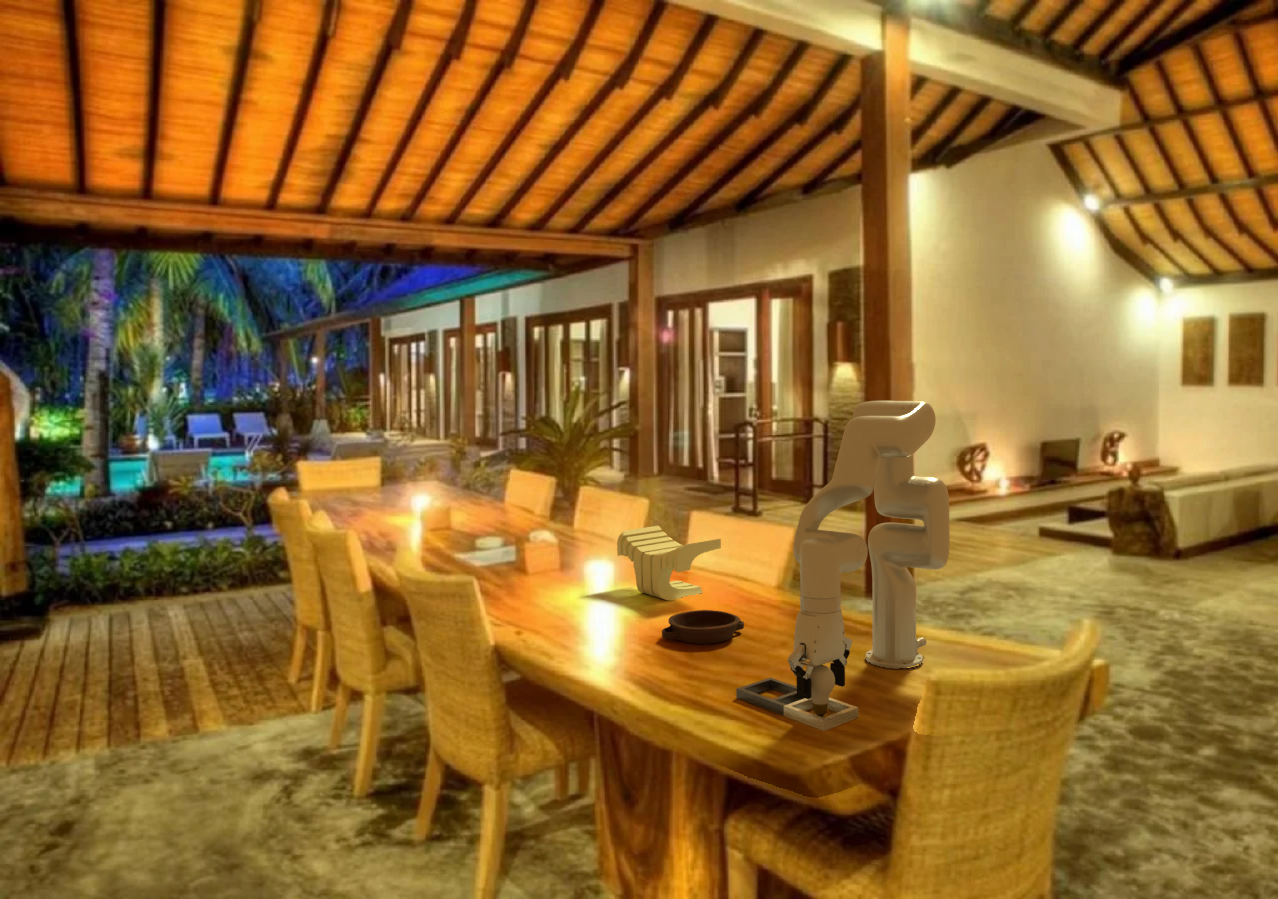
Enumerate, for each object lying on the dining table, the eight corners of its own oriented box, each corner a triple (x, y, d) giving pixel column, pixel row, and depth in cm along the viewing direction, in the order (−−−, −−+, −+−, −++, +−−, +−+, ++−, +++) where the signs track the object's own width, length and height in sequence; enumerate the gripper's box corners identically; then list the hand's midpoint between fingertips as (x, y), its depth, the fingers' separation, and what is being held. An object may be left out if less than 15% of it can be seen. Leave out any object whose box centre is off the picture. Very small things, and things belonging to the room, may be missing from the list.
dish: (759, 641, 227) (759, 622, 226) (677, 653, 219) (676, 632, 219) (729, 624, 243) (728, 605, 243) (651, 634, 236) (650, 614, 235)
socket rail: (770, 686, 194) (770, 677, 194) (858, 717, 176) (858, 707, 176) (736, 698, 188) (736, 688, 188) (823, 731, 170) (823, 720, 170)
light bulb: (831, 710, 180) (830, 660, 180) (839, 720, 174) (838, 668, 174) (802, 712, 180) (800, 661, 180) (808, 722, 174) (807, 669, 174)
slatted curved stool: (618, 588, 284) (616, 531, 282) (659, 581, 293) (658, 525, 291) (678, 608, 259) (677, 545, 258) (721, 599, 269) (720, 538, 267)
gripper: (834, 592, 184) (835, 675, 185) (774, 608, 173) (775, 696, 175) (865, 599, 178) (865, 685, 179) (804, 616, 167) (805, 707, 169)
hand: (821, 690), depth 177 cm, fingers open, 9 cm apart
